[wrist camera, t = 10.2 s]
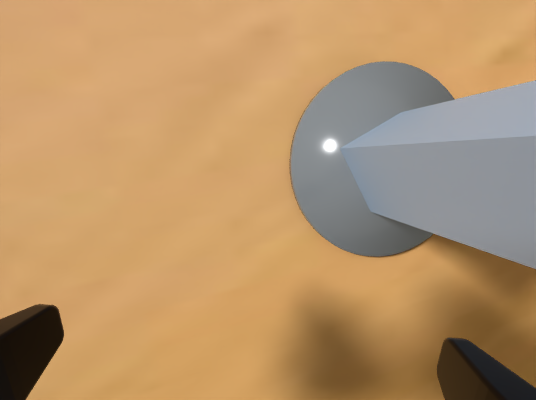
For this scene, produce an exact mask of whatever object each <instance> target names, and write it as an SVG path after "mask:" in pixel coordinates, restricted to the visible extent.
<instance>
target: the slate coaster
mask: <svg viewBox="0 0 536 400" xmlns="http://www.w3.org/2000/svg"><path fill="white" fill-rule="evenodd" d="M451 100H454V98H453V97H452V95H451V94H450V93H449V91H448V90H447V89H446V88H445V87H444V86H443V85H442V84H441V83H440V82H439V81H438V80H437V79H435V78H434V77H433V76H431V75H430V74H428V73H427V72H425V71H423V70H421V69H419V68H417V67H414V66H411V65H408V64H404V63H398V62H375V63H369V64H365V65H362V66H358V67H356V68H354V69H351V70H349V71H347V72H345V73H343V74H342V75H340V76H339V77H337V78H335V79H334V80H332V81H331V82H330V83H328V84H327V85H326V86H325V87H324V88H322V89H321V90H320V91H319V93H318V94H317V95H316V96H315V97H314V98H313V99H312V101H311V102H310V103H309V105H308V106H307V108H306V109H305V111H304V113H303V115H302V116H301V118H300V120H299V122H298V125H297V128H296V130H295V133H294V137H293V141H292V145H291V152H290V177H291V184H292V188H293V192H294V195H295V199H296V201H297V203H298V205H299V208H300V210H301V211H302V213H303V215H304V216H305V218H306V220H307V221H308V222H309V223H310V225H311V226H312V227H313V228H314V229H315V230H316V231H317V232H318V233H319V234H320V235H321V236H322V237H324V238H325V239H326V240H328V241H329V242H331V243H332V244H334V245H335V246H337V247H339V248H341V249H343V250H345V251H348V252H351V253H354V254H358V255H364V256H388V255H393V254H397V253H401V252H403V251H406V250H409V249H411V248H413V247H415V246H417V245H419V244H421V243H422V242H423V241H425V240H426V239H428V238H429V237H430V236H432V235H433V233H431V232H428V231H425V230H422V229H419V228H416V227H413V226H410V225H408V224H405V223H402V222H399V221H396V220H393V219H390V218H388V217H385V216H382V215H379V214H376V213H373V212H371V211H370V209H369V207H368V205H367V203H366V201H365V199H364V197H363V195H362V193H361V191H360V189H359V187H358V185H357V183H356V181H355V179H354V176H353V174H352V172H351V170H350V168H349V166H348V164H347V162H346V160H345V158H344V156H343V154H342V152H341V150H340V148H341V147H343V146H345V145H347V144H348V143H350V142H352V141H353V140H355V139H357V138H358V137H360V136H362V135H364V134H365V133H367V132H369V131H370V130H372V129H374V128H375V127H377V126H379V125H380V124H382V123H384V122H386V121H387V120H389V119H391V118H392V117H394V116H396V115H397V114H399V113H401V112H404V111H409V110H413V109H417V108H421V107H425V106H430V105H434V104H438V103H442V102H447V101H451Z"/></svg>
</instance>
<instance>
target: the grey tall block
mask: <svg viewBox="0 0 536 400" xmlns="http://www.w3.org/2000/svg"><path fill="white" fill-rule="evenodd" d="M340 150H341V152H342V154H343V156H344V158H345V160H346V162H347V164H348V166H349V168H350V170H351V172H352V174H353V176H354V179H355V181H356V183H357V185H358V187H359V189H360V191H361V193H362V195H363V197H364V199H365V201H366V203H367V205H368V207H369V209H370V211H371V212H373V213H376V214H379V215H382V216H385V217H388V218H390V219H393V220H396V221H399V222H402V223H405V224H408V225H410V226H413V227H416V228H419V229H422V230H425V231H428V232H431V233H433V234H436V235H439V236H442V237H445V238H448V239H451V240H453V241H456V242H459V243H462V244H465V245H468V246H471V247H474V248H476V249H479V250H482V251H485V252H488V253H491V254H494V255H496V256H499V257H502V258H505V259H508V260H511V261H514V262H517V263H519V264H522V265H525V266H528V267H531V268H534V269H536V80H535V81H531V82H527V83H523V84H518V85H514V86H510V87H506V88H502V89H497V90H493V91H489V92H485V93H480V94H476V95H472V96H468V97H463V98H459V99H455V100H451V101H447V102H442V103H438V104H434V105H430V106H425V107H421V108H417V109H413V110H409V111H404V112H401V113H399V114H397V115H396V116H394V117H392V118H391V119H389V120H387V121H386V122H384V123H382V124H380V125H379V126H377V127H375V128H374V129H372V130H370V131H369V132H367V133H365V134H364V135H362V136H360V137H358V138H357V139H355V140H353V141H352V142H350V143H348V144H347V145H345V146H343V147H341V148H340Z"/></svg>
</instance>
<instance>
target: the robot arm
mask: <svg viewBox="0 0 536 400" xmlns="http://www.w3.org/2000/svg"><path fill="white" fill-rule="evenodd" d="M63 337H64V330H63V326H62V322H61V318H60V313H59V310H58V308H57V307H56V306H54V305H45V304H38V305H34V306H32V307H29V308H27V309H24V310H22V311H20V312H17V313H15V314H12V315H10V316H7V317H5V318H2V319H0V400H26V398H27V397H28V395H29V394H30V392H31V390H32V389H33V387H34V386H35V384H36V383H37V381H38V379H39V378H40V376H41V375H42V373H43V371H44V370H45V368H46V367H47V365H48V364H49V362H50V360H51V359H52V357H53V356H54V354H55V353H56V351H57V349H58V348H59V346H60V345H61V343H62V341H63ZM437 375H438V380H439V383H440V386H441V389H442V392H443V395H444V398H445V400H536V388H535V387H533V386H532V385H530V384H529V383H528V382H526V381H525V380H523V379H522V378H521V377H519V376H518V375H516V374H515V373H514V372H512V371H511V370H509V369H508V368H507V367H505V366H504V365H502V364H501V363H500V362H498V361H497V360H495V359H494V358H493V357H491V356H490V355H488V354H487V353H486V352H484V351H483V350H481V349H480V348H478V347H477V346H476V345H474V344H473V343H471V342H470V341H468V340H466V339H460V338H446V339H445V340H444V342H443V345H442V349H441V353H440V357H439V361H438V364H437Z"/></svg>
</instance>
